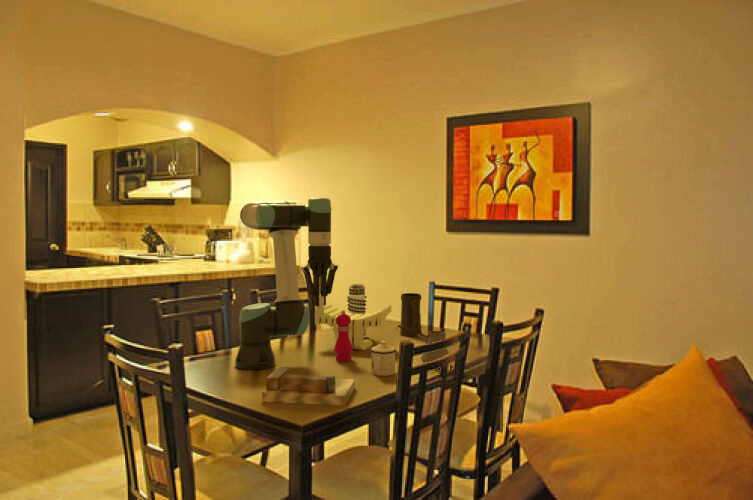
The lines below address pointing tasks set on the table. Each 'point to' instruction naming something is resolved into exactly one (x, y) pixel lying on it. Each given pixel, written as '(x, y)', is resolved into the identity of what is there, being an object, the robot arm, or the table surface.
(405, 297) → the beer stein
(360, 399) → the table surface
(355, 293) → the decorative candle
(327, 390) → the hinged leg
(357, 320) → the slatted curved stool
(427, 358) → the coffee pot
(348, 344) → the pepper mill
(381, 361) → the teacup with lid
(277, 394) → the wooden board with block
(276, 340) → the table surface
